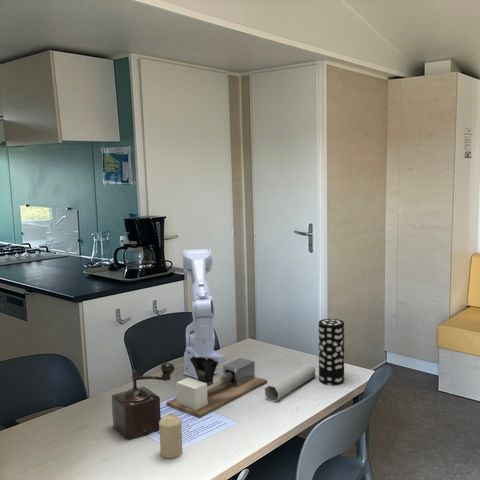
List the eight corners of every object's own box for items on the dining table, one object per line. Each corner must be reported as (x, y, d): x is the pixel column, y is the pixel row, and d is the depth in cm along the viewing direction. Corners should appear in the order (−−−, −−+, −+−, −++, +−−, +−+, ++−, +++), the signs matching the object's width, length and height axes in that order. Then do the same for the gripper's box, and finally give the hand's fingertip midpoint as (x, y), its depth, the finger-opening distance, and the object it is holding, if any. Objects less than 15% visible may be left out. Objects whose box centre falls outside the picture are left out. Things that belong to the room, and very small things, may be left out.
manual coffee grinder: (128, 441, 146) (125, 376, 143) (112, 426, 155) (108, 365, 152) (179, 424, 155) (177, 363, 152) (161, 411, 164) (158, 352, 161)
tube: (303, 362, 190) (262, 386, 170) (316, 360, 187) (275, 384, 167) (307, 377, 190) (267, 403, 170) (320, 376, 187) (280, 401, 167)
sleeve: (223, 383, 181) (222, 365, 180) (241, 374, 188) (240, 357, 187) (237, 387, 177) (236, 369, 176) (254, 378, 184) (254, 361, 183)
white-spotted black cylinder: (345, 377, 186) (346, 319, 183) (342, 386, 178) (342, 326, 176) (321, 374, 189) (321, 318, 186) (316, 383, 181) (316, 324, 178)
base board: (166, 405, 167) (166, 402, 167) (235, 373, 192) (234, 370, 192) (199, 417, 159) (199, 414, 158) (267, 382, 183) (267, 380, 183)
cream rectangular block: (177, 403, 167) (176, 382, 166) (188, 397, 170) (188, 377, 169) (195, 410, 161) (195, 388, 161) (207, 404, 165) (206, 383, 164)
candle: (161, 448, 142) (159, 411, 141) (182, 447, 142) (181, 410, 141) (160, 459, 136) (158, 421, 135) (182, 458, 137) (180, 420, 136)
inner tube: (186, 398, 166) (185, 374, 165) (227, 379, 180) (227, 357, 179) (193, 401, 164) (192, 377, 163) (235, 381, 178) (234, 359, 177)
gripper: (177, 336, 170) (179, 378, 171) (212, 345, 160) (213, 390, 162) (194, 331, 175) (195, 372, 177) (228, 339, 166) (229, 382, 167)
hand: (205, 380), depth 170 cm, fingers closed on inner tube, 3 cm apart
